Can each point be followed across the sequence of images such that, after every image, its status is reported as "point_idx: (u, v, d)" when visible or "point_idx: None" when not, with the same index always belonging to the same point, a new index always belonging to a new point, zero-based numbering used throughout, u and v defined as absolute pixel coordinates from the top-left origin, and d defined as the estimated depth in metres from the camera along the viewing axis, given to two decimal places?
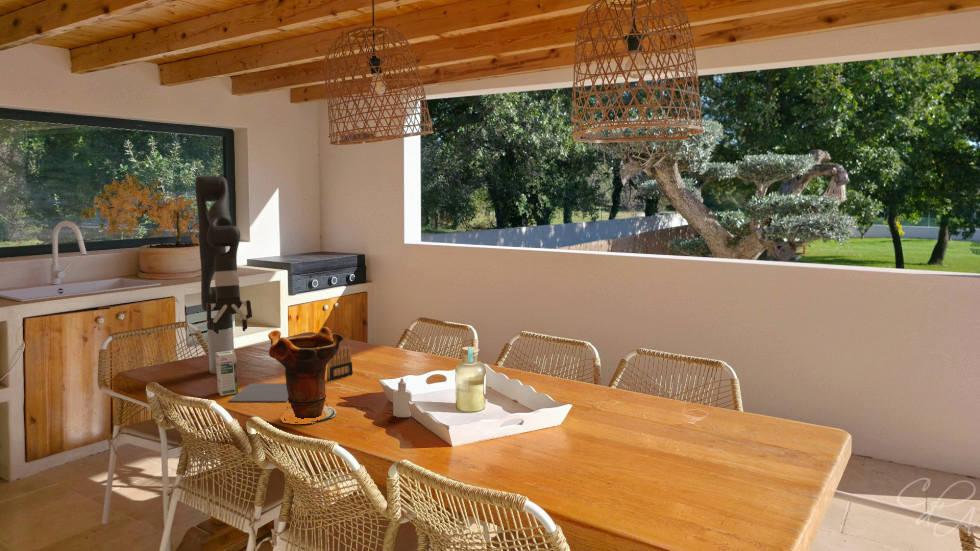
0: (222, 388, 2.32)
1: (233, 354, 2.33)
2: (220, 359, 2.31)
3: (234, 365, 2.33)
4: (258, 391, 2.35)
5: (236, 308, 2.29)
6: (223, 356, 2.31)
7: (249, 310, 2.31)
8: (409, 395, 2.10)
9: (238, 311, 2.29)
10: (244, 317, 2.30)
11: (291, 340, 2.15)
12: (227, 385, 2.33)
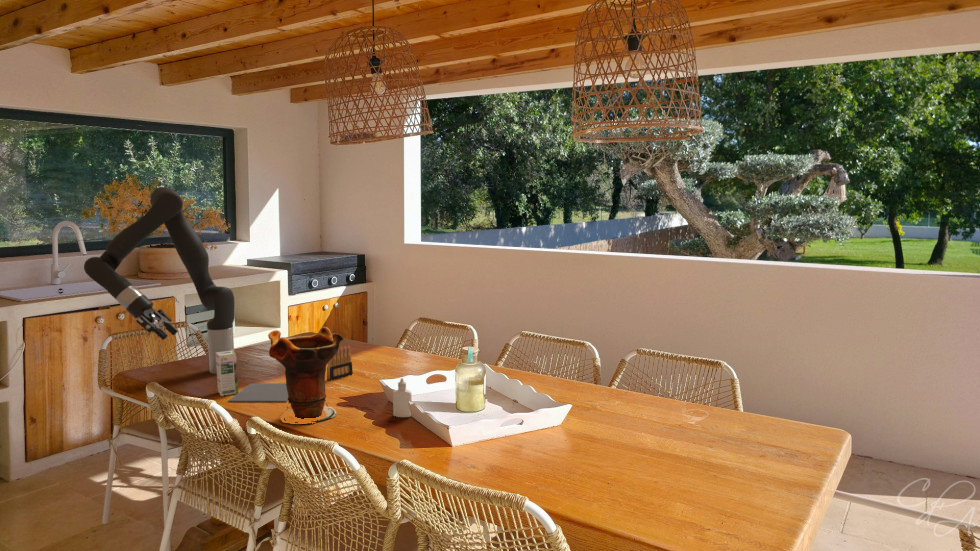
0: (222, 388, 2.32)
1: (233, 354, 2.33)
2: (220, 359, 2.31)
3: (234, 365, 2.33)
4: (258, 391, 2.35)
5: None
6: (223, 356, 2.31)
7: None
8: (409, 395, 2.10)
9: None
10: None
11: (291, 340, 2.15)
12: (227, 385, 2.33)
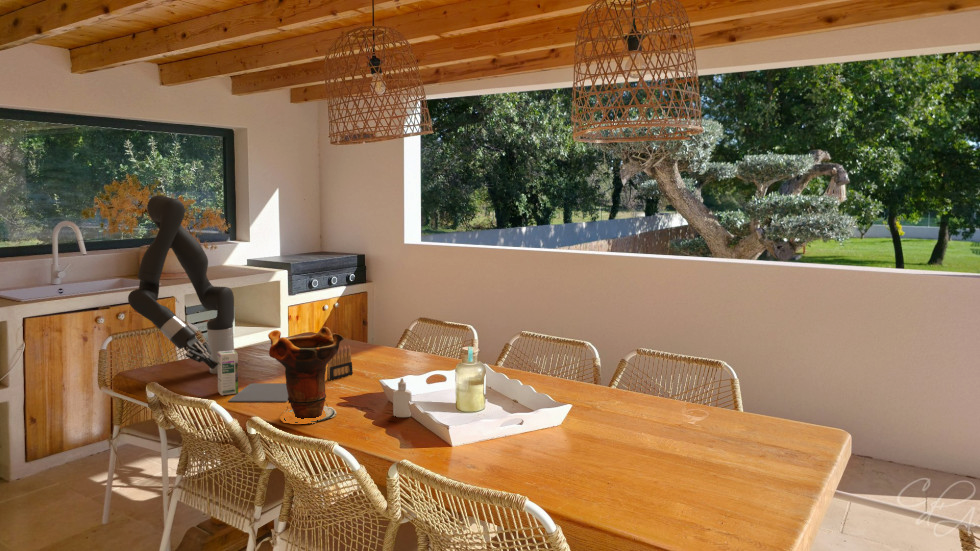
0: (222, 387, 2.32)
1: (235, 354, 2.33)
2: (222, 358, 2.31)
3: (235, 365, 2.34)
4: (258, 391, 2.35)
5: None
6: (225, 355, 2.31)
7: None
8: (409, 395, 2.10)
9: None
10: None
11: (291, 340, 2.15)
12: (227, 385, 2.33)
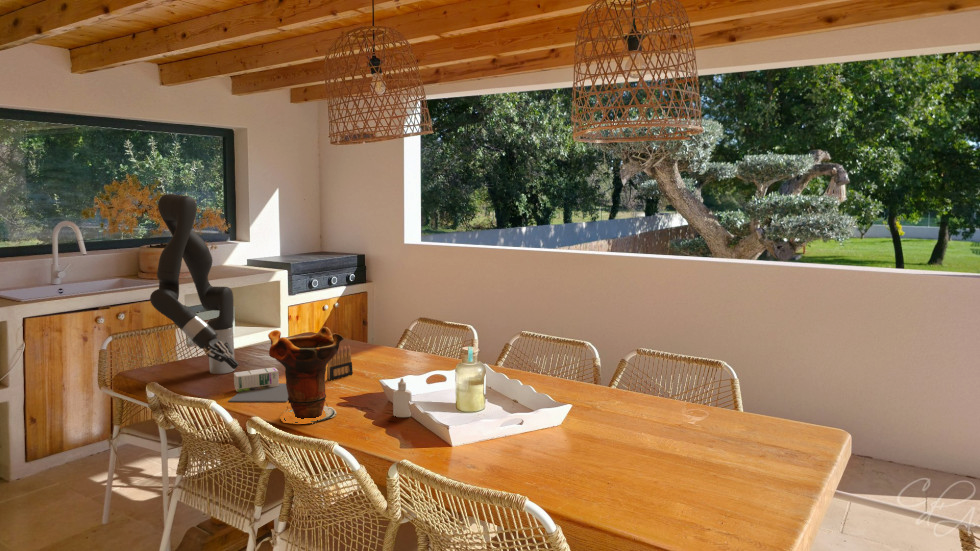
0: (244, 376, 2.35)
1: (277, 384, 2.42)
2: (274, 372, 2.41)
3: (266, 386, 2.40)
4: (258, 391, 2.35)
5: None
6: (276, 375, 2.41)
7: None
8: (409, 395, 2.10)
9: None
10: None
11: (291, 340, 2.15)
12: (247, 381, 2.36)
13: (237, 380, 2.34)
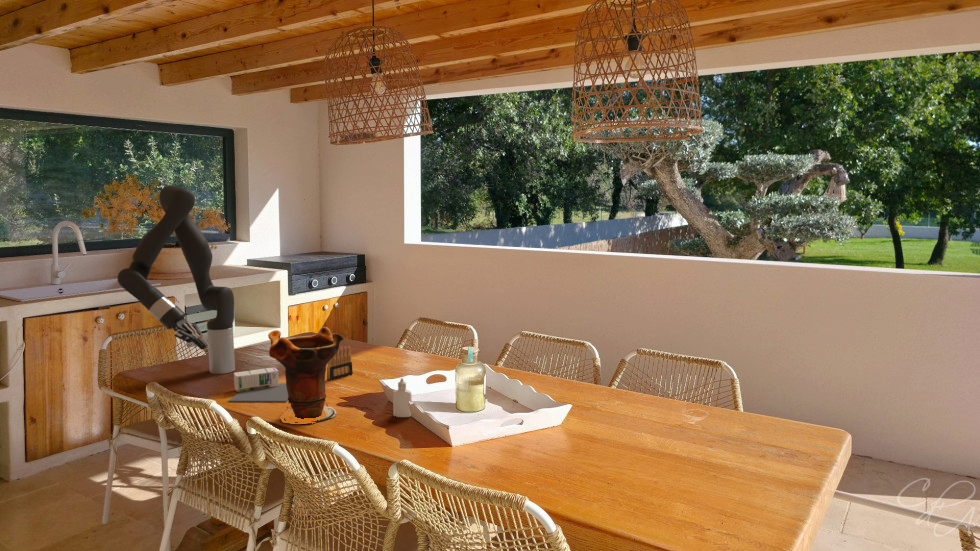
0: (244, 376, 2.35)
1: (277, 384, 2.42)
2: (274, 372, 2.41)
3: (266, 385, 2.40)
4: (258, 391, 2.35)
5: None
6: (276, 375, 2.41)
7: None
8: (409, 395, 2.10)
9: None
10: None
11: (291, 340, 2.15)
12: (246, 381, 2.36)
13: (237, 380, 2.35)
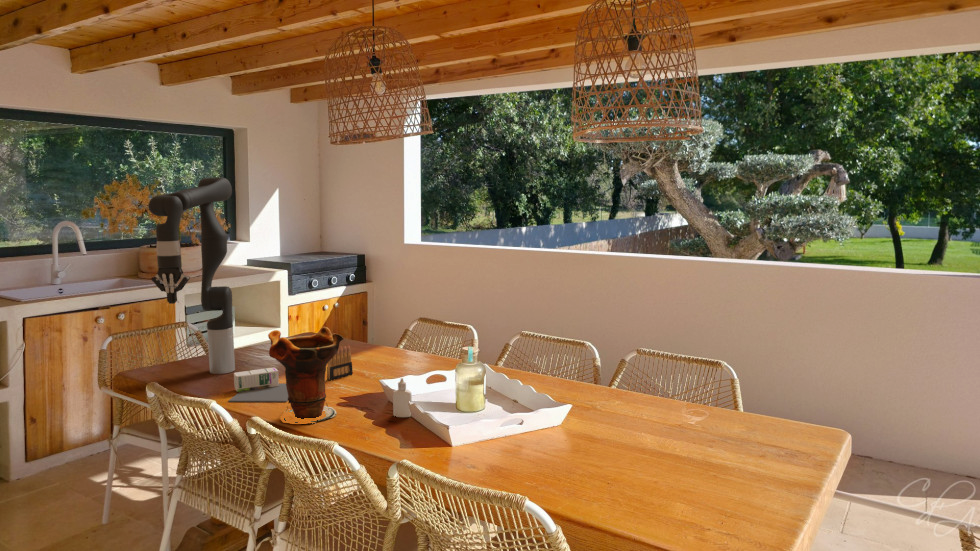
0: (244, 376, 2.35)
1: (277, 384, 2.42)
2: (274, 372, 2.41)
3: (266, 385, 2.40)
4: (258, 391, 2.35)
5: (171, 279, 2.33)
6: (276, 375, 2.41)
7: (180, 285, 2.34)
8: (409, 395, 2.10)
9: (171, 282, 2.33)
10: (171, 290, 2.34)
11: (291, 340, 2.15)
12: (246, 381, 2.36)
13: (237, 380, 2.35)
